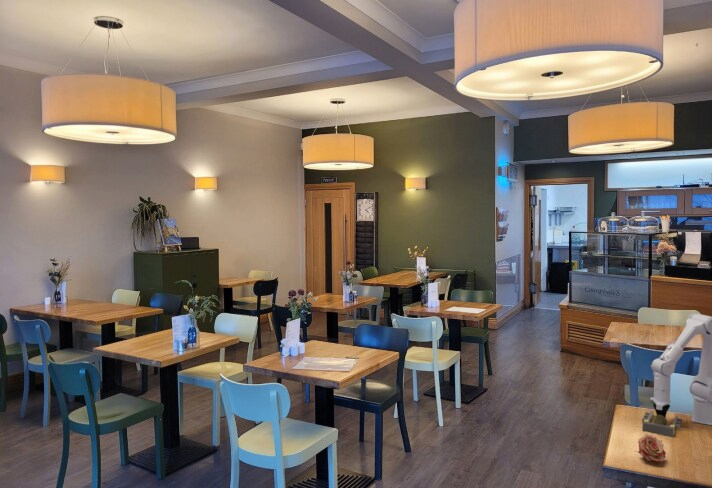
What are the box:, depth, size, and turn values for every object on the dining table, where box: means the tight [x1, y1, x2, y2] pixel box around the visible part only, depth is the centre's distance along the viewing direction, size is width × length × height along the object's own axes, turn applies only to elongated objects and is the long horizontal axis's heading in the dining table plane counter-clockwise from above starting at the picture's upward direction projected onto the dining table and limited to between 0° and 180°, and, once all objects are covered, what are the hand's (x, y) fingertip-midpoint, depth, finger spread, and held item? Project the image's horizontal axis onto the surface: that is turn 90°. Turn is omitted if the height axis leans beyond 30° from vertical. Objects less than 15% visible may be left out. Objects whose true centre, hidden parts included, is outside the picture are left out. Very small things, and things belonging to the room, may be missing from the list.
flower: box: [635, 433, 667, 464], centre depth 187 cm, size 10×9×8 cm
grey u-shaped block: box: [641, 410, 683, 438], centre depth 217 cm, size 13×20×3 cm, turn 144°
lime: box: [652, 414, 668, 426], centre depth 215 cm, size 4×5×5 cm
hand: (661, 422), depth 217 cm, fingers closed
